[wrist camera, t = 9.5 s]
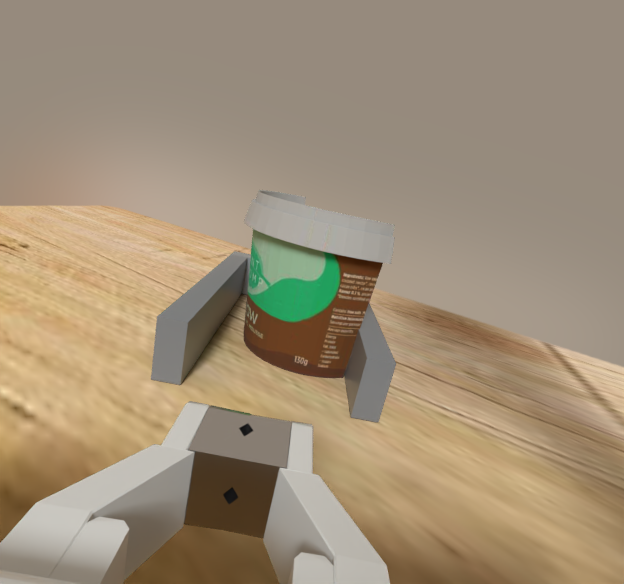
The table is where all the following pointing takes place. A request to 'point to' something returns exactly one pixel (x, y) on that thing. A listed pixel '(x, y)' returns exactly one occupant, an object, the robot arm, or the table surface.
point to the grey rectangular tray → (215, 307)
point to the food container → (309, 282)
